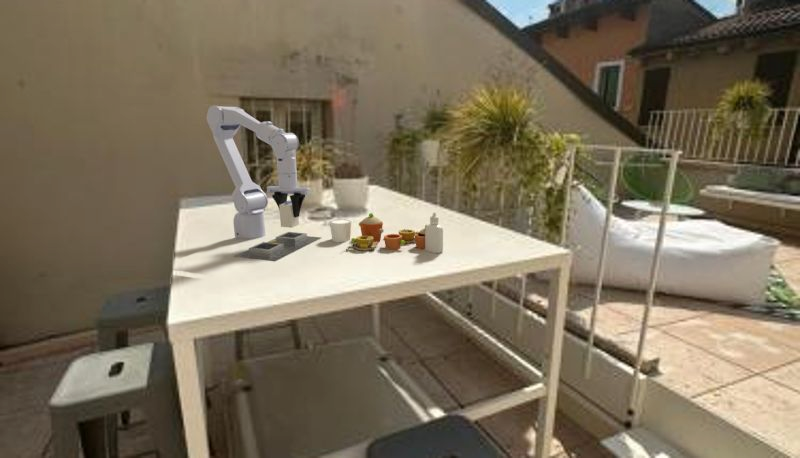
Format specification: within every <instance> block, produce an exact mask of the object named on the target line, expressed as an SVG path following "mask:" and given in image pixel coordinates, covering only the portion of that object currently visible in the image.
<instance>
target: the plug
mask: <svg viewBox="0 0 800 458" xmlns="http://www.w3.org/2000/svg"><path fill="white" fill-rule="evenodd" d="M279 209H280V210H279ZM278 210H279V218H280V219H279V220H280V227H281V228H289V229H290V228H292V229H293V228H294V227H297V226H299V225H300V222H299V218H300V217H299V216H298V217H294V215H293V206H292V202H291V200H287V201H286V202H284V203H283V204H280V205H279V208H278Z"/></svg>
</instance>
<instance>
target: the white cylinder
mask: <svg viewBox="0 0 800 458" xmlns="http://www.w3.org/2000/svg"><path fill="white" fill-rule="evenodd" d="M329 226H330V233H331V240H332V241H333V242H337V243H343V242H345V243H346V242H349V241H351V235H352V234H351V233H352V221H351V220H349V219H333V220H331V221H330V222H329Z"/></svg>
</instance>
